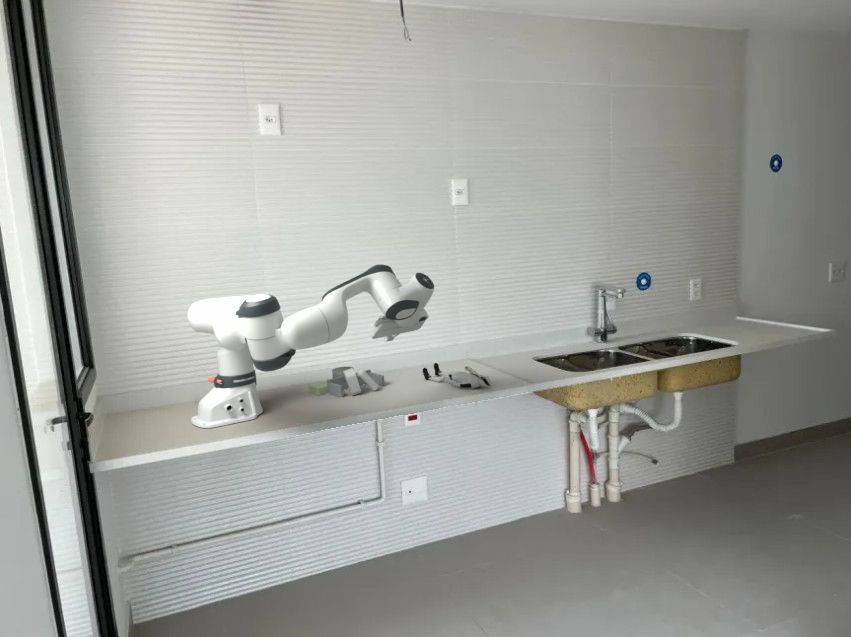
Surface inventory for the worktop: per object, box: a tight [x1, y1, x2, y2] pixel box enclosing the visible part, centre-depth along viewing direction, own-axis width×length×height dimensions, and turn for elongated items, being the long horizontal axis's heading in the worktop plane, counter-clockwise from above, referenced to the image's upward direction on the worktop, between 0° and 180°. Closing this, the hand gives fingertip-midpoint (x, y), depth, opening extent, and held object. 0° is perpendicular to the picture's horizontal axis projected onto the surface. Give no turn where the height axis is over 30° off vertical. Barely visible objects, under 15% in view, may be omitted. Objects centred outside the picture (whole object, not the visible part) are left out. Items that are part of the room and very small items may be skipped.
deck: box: [308, 366, 385, 398], centre depth 230 cm, size 26×16×6 cm, turn 131°
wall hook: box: [343, 368, 380, 396], centre depth 224 cm, size 8×10×10 cm
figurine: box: [422, 362, 492, 390], centre depth 228 cm, size 13×6×30 cm
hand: (387, 339), depth 209 cm, fingers closed
